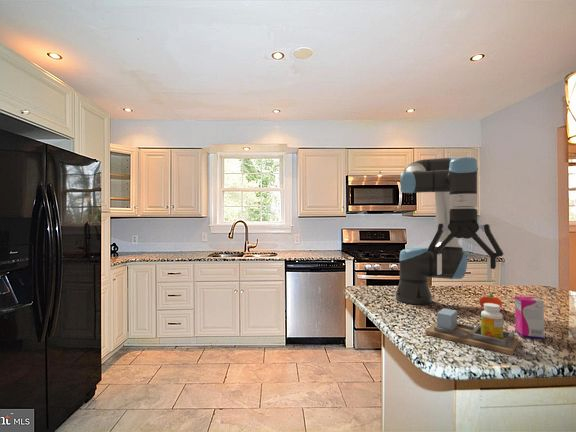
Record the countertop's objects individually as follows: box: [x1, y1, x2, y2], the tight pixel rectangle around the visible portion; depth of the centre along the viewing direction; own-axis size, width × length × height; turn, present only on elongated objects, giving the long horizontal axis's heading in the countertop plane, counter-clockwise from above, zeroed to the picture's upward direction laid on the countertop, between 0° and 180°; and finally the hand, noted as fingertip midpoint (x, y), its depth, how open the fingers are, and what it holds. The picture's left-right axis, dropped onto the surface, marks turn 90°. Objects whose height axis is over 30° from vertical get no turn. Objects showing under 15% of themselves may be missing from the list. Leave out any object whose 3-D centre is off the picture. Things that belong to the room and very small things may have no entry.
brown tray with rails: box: [425, 321, 519, 356], centre depth 93 cm, size 22×13×3 cm, turn 48°
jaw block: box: [436, 308, 458, 331], centre depth 97 cm, size 4×7×5 cm, turn 138°
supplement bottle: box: [480, 303, 504, 339], centre depth 89 cm, size 5×5×10 cm
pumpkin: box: [478, 292, 503, 309], centre depth 123 cm, size 7×8×6 cm
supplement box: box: [514, 295, 546, 340], centre depth 95 cm, size 6×6×12 cm
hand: (463, 276), depth 95 cm, fingers open, 13 cm apart
